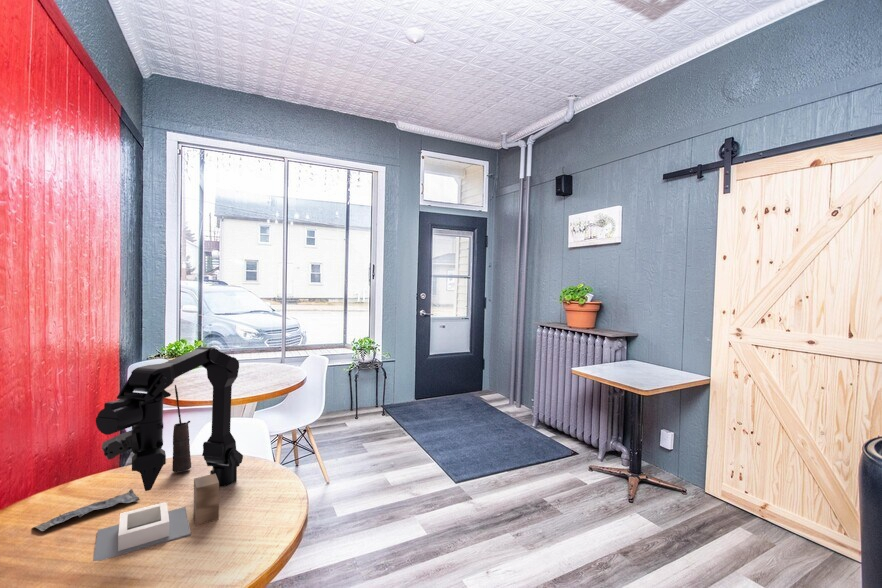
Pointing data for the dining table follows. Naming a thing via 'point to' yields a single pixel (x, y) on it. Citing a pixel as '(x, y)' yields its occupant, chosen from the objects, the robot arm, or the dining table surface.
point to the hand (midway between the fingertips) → (147, 483)
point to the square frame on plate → (141, 530)
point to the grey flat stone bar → (90, 509)
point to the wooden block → (206, 499)
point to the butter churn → (181, 444)
